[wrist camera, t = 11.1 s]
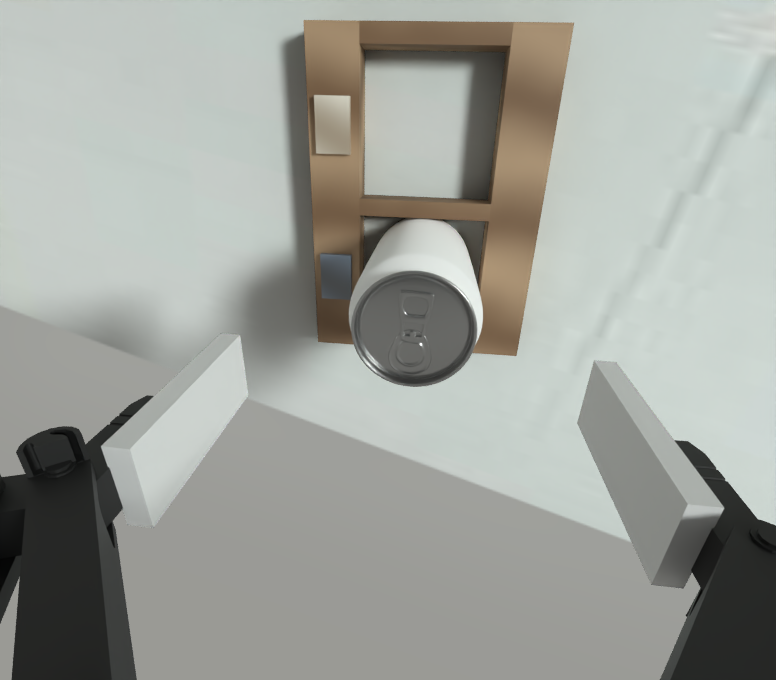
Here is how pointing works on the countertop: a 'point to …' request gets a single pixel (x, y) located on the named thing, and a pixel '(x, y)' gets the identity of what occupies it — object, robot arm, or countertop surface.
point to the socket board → (500, 212)
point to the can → (417, 304)
